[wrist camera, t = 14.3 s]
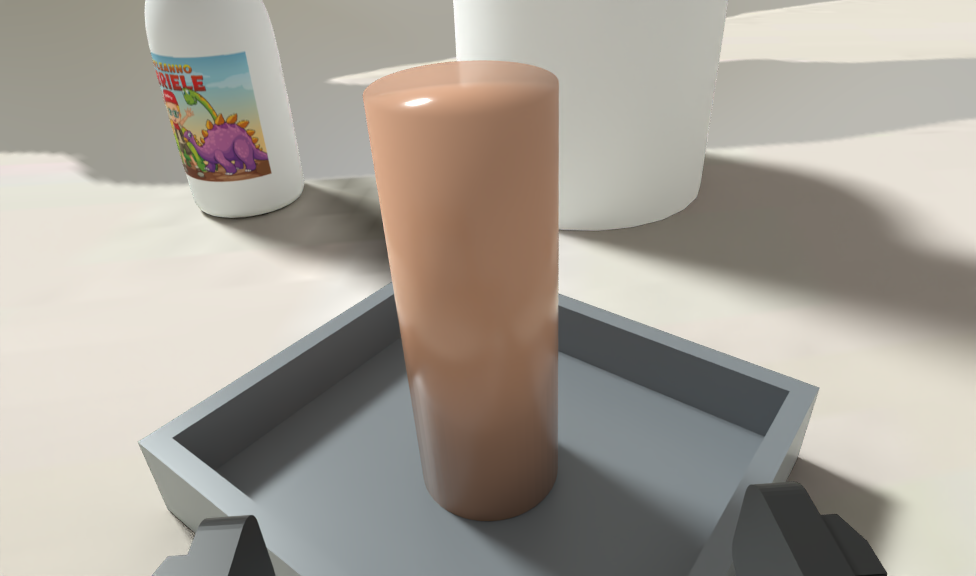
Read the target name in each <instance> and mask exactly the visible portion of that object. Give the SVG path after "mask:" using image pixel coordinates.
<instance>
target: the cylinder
mask: <svg viewBox="0 0 976 576" xmlns="http://www.w3.org/2000/svg"><path fill="white" fill-rule="evenodd" d="M453 3H454V19H455V37H456V53H457V61H472V60H493V61H509V62H517V63H524V64H529V65H533V66H537V67H540V68H543V69H545V70H548V71H550V72H551V73H553V74H554V75H555V76H556V77H557V78H558V80H559V229H560V230H588V231H601V230H610V229H620V228H630V227H635V226H639V225H643V224H647V223H651V222H655V221H659V220H663V219H665V218H667V217H669V216H671V215H673V214H675V213H677V212H679V211H682V210H684V209H685V208H686V207H687V206H688V205H689V204H690V203H691V202H692V201H693V200H694V199H695V198H697V195H698V192H699V188H700V185H701V178H702V172H703V165H704V158H705V152H706V145H707V138H708V132H709V125H710V118H711V111H712V105H713V98H714V92H715V85H716V78H717V72H718V65H719V58H720V52H721V45H722V38H723V32H724V25H725V18H726V12H727V5H728V0H453Z"/></svg>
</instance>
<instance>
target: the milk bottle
mask: <svg viewBox="0 0 976 576" xmlns="http://www.w3.org/2000/svg"><path fill="white" fill-rule="evenodd" d="M145 26H146V32H147V38H148V43H149V47H150V51H151V55H152V59H153V63H154V67H155V70H156V74H157V77H158V80H159V84H160V88H161V91H162V95H163V98H164V102H165V105H166V109H167V112H168V116H169V119H170V122H171V125H172V129H173V132H174V136H175V139H176V142H177V146H178V149H179V152H180V156H181V159H182V162H183V166H184V169H185V172H186V175H187V179H188V182H189V186H190V189H191V192H192V195H193V198H194V201H195V203H196V204H197V206H198V207H199V208H200V209H201V210H202V211H204V212H205V213H207V214H210V215H213V216H218V217H229V218H235V217H248V216H255V215H260V214H265V213H268V212H271V211H275V210H277V209H280V208H282V207H284V206H286V205H288V204H290V203H292V202H293V201H295V200H296V199H297V198H298V197H299V196H300V195H301V193H302V191H303V188H304V177H303V171H302V167H301V160H300V155H299V150H298V145H297V140H296V135H295V130H294V125H293V120H292V115H291V110H290V105H289V100H288V95H287V90H286V85H285V81H284V76H283V71H282V66H281V61H280V56H279V52H278V48H277V44H276V40H275V35H274V32H273V27H272V24H271V21H270V18H269V15H268V12H267V10H266V8H265V5H264V3H263V1H262V0H146V1H145Z"/></svg>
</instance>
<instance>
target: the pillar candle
mask: <svg viewBox="0 0 976 576" xmlns="http://www.w3.org/2000/svg"><path fill="white" fill-rule="evenodd" d="M363 100H364V107H365V112H366V119H367V126H368V132H369V138H370V144H371V151H372V157H373V163H374V170H375V176H376V182H377V189H378V195H379V201H380V207H381V214H382V220H383V226H384V233H385V239H386V245H387V251H388V258H389V264H390V270H391V277H392V283H393V289H394V295H395V302H396V308H397V314H398V321H399V327H400V333H401V339H402V346H403V352H404V358H405V365H406V371H407V377H408V384H409V390H410V396H411V402H412V409H413V415H414V421H415V428H416V434H417V440H418V446H419V453H420V459H421V465H422V472H423V478H424V483H425V485H426V488H427V490H428V492H429V494H430V495H431V496H432V498H433V499H434V500H435V501H436V502H437V503H438V504H439V505H440V506H441V507H443V508H444V509H446V510H447V511H449V512H451V513H453V514H455V515H457V516H460V517H463V518H466V519H471V520H477V521H497V520H504V519H509V518H512V517H515V516H518V515H521V514H523V513H525V512H527V511H529V510H530V509H532V508H534V507H535V506H536V505H538V504H539V503H540V502H541V501H542V500H543V499H544V498H545V497H546V496H547V495H548V493H549V492H550V490H551V489H552V487H553V485H554V483H555V480H556V477H557V472H558V259H559V80H558V78H557V77H556V76H555V75H554V74H553V73H551V72H550V71H548V70H545V69H543V68H540V67H537V66H533V65H529V64H524V63H517V62H509V61H493V60H472V61H455V62H445V63H437V64H430V65H424V66H419V67H414V68H410V69H406V70H402V71H399V72H396V73H393V74H390V75H387V76H385V77H382V78H380V79H378V80H376V81H375V82H373V83H372V84H370V85H369V86H368V87H367V88H366V89H365V91H364V92H363Z"/></svg>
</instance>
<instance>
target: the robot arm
mask: <svg viewBox="0 0 976 576" xmlns="http://www.w3.org/2000/svg"><path fill="white" fill-rule="evenodd" d="M732 557H733V564H734V569H735V573H736V576H887V572H886V571H885V569H884V567H883V566H882V564H881V563H880V561H879V559H878V558H877V556H876V555H875V553H874V551H873V550H872V548H871V546H870V545H869V543H868V542H867V540H865V539H864V538H863V537H862V536H861V535H860V534H859V533H858V532H857V531H855V530H854V529H853V528H852V527H851V526H850V525H849V524H848V523H846V522H845V521H844V520H843V519H842V518H841V517H840V516H839V515H838V514H829V515H820V514H819V512H818V510H817V508H816V507H815V505H814V503H813V501H812V500H811V498H810V496H809V495H808V493H807V491H806V490H805V488H804V487H803V486H802V485H801V484H800V483H798V482H781V483H765V484H751V485H749V486H748V487H747V489H746V492H745V495H744V499H743V503H742V507H741V511H740V515H739V519H738V522H737V526H736V530H735V534H734V538H733V543H732ZM152 576H275V571H274V568H273V565H272V562H271V559H270V556H269V553H268V550H267V547H266V544H265V541H264V538H263V536H262V533H261V530H260V527H259V524H258V521H257V519H256V517H255V516H254V515H243V516H227V517H212V518H205V519H204V520H203V521H202V522H201V523H200V525H199V526H198V529H197V531H196V534H195V536H194V539H193V542H192V544H191V547H190V549H189V552H188V555H178V556H168V557H167V558H166V559H165V560H164V561H163V563H162V564H161V565H160V566H159V567H158V569H157V570H156V571H155V572H154V573H153V575H152Z"/></svg>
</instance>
